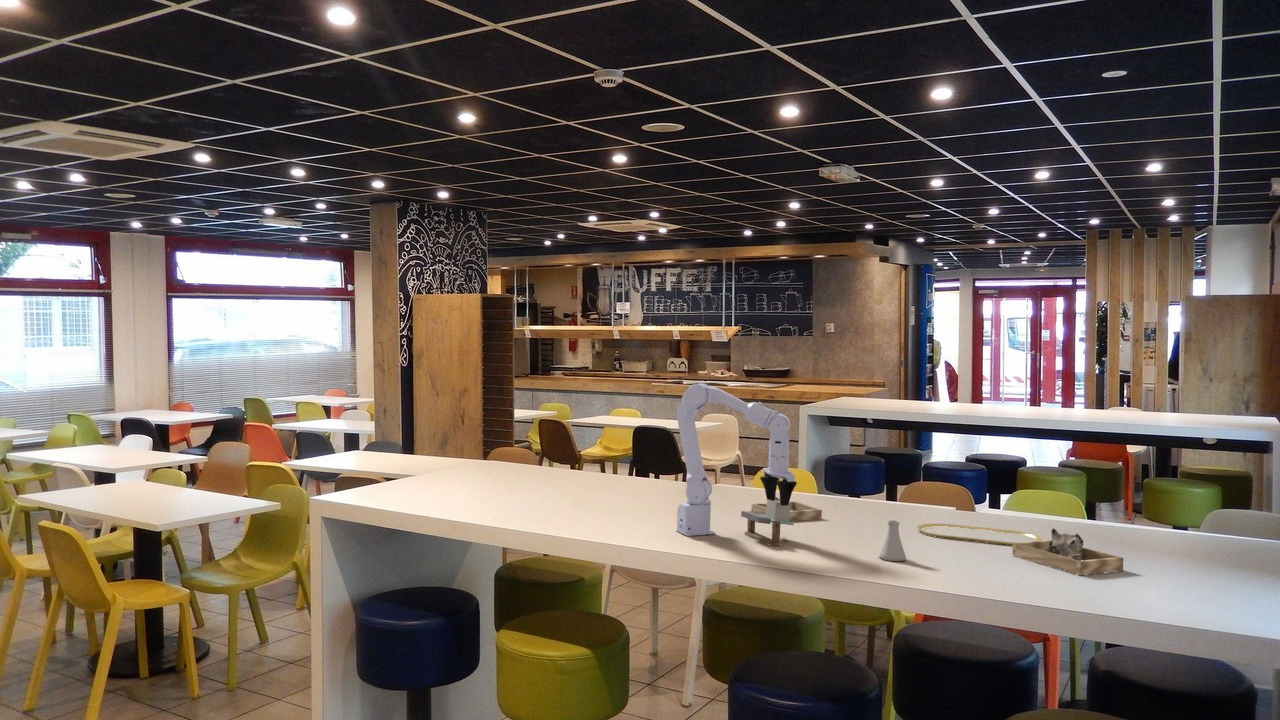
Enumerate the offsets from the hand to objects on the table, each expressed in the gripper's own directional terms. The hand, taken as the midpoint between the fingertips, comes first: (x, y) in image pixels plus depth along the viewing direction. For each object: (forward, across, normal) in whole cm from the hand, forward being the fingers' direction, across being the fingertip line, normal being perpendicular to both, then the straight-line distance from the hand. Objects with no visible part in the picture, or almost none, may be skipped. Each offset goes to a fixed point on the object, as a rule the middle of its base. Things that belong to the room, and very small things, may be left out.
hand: (777, 503), depth 257 cm
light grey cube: (+2, 0, 0) cm, 2 cm away
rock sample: (+11, +30, -18) cm, 36 cm away
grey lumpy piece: (+10, -48, -60) cm, 77 cm away
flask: (+11, -30, -18) cm, 36 cm away
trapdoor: (+5, 0, +4) cm, 6 cm away
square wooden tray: (+10, +30, -22) cm, 38 cm away
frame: (+10, 0, +4) cm, 11 cm away
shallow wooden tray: (+10, -48, -60) cm, 77 cm away
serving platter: (+11, -14, -61) cm, 64 cm away
